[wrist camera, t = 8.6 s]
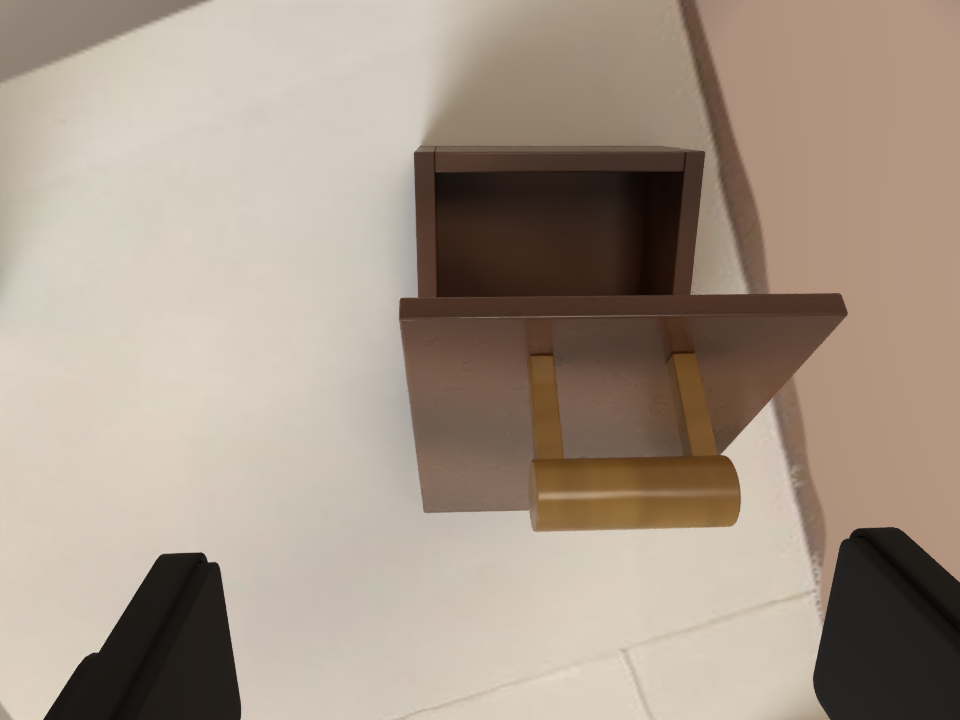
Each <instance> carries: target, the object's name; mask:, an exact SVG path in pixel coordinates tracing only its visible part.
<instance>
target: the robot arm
mask: <svg viewBox="0 0 960 720" xmlns="http://www.w3.org/2000/svg"><path fill="white" fill-rule="evenodd" d="M813 684H814V690H815V693H816V696H817V699H818V701H819V703H820V704H821V706H822V707H823V709H824V711H825V712H826V714H827V715H828V717H829V718H830V720H960V582H958V581H957V580H956V579H955V578H954V577H953V576H952V575H951V574H950V573H949V572H947V571H946V570H945V569H944V568H943V567H942V566H941V565H940V564H938V563H937V562H936V561H935V560H934V559H933V558H932V557H931V556H930V555H929V554H927V553H926V552H925V551H924V550H923V549H922V548H921V547H920V546H919V545H917V544H916V543H915V542H914V541H913V540H912V539H911V538H910V537H909V536H907V535H906V534H905V533H904V532H903V531H901V530H900V529H898V528H894V527H888V528H887V527H886V528H859V529H856V530H854V531H853V532H852V533H851V535H850V538H849V539H845V540H843V542H842V543H841V545H840V548H839V554H838V559H837V563H836V568H835V573H834V577H833V582H832V587H831V592H830V597H829V602H828V607H827V612H826V616H825V621H824V626H823V631H822V636H821V641H820V645H819V650H818V655H817V660H816V665H815V670H814V675H813ZM240 719H241V701H240V695H239V688H238V682H237V675H236V669H235V663H234V656H233V650H232V643H231V637H230V630H229V624H228V617H227V611H226V604H225V598H224V591H223V585H222V578H221V572H220V567H219V565H218V563H216V562H207V558H206V556H205V554H203V553H174V554H162V555H160V556H159V557H158V559H157V560H156V561H155V563H154V565H153V566H152V568H151V569H150V571H149V573H148V574H147V576H146V577H145V579H144V581H143V582H142V584H141V585H140V587H139V589H138V590H137V592H136V593H135V595H134V597H133V598H132V600H131V601H130V603H129V605H128V606H127V608H126V609H125V611H124V613H123V614H122V616H121V618H120V619H119V621H118V622H117V624H116V626H115V627H114V629H113V630H112V632H111V634H110V635H109V637H108V638H107V640H106V642H105V643H104V645H103V646H102V648H101V650H100V651H99V653H92V654H90V655H88V656H86V657H85V658H84V659H83V661H82V662H81V663H80V664H79V665H78V667H77V668H76V670H75V671H74V673H73V674H72V676H71V677H70V679H69V681H68V682H67V684H66V685H65V687H64V688H63V690H62V691H61V693H60V695H59V696H58V698H57V699H56V701H55V702H54V704H53V705H52V707H51V708H50V710H49V712H48V713H47V715H46V716H45V718H44V719H43V720H240Z"/></svg>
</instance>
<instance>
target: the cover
mask: <svg viewBox="0 0 960 720" xmlns="http://www.w3.org/2000/svg"><path fill="white" fill-rule="evenodd" d="M847 313H848V312H847V309H846V307H845V304H844V301H843V298H842V295H841V294H839V293H836V294H835V293H834V294H833V293H832V294H734V295H637V296H540V297H443V298H401V299H400V301H399V322H400V330H401V338H402V346H403V354H404V361H405V369H406V377H407V385H408V393H409V400H410V408H411V416H412V424H413V432H414V439H415V447H416V455H417V463H418V471H419V478H420V486H421V494H422V502H423V510H424V512H425V513H439V512H480V511H521V510H530V518H531V524H532V528H533V530H534V531H535V532H550V531H589V530H627V529H666V528H705V527H730V526H732V525H734V524H735V523H736V521H737V519H738V516H739V512H740V504H741V494H740V485H739V479H738V475H737V472H736V469H735V467H734V465H733V463H732V461H731V460H730V459H729V458H728V457H726V456H723V455H721V454H722V453H723V451H724V450H725V449H726V448H727V447H728V446H729V445H730V444H731V443H732V442H733V440H734V439H735V438H736V437H737V436H738V435H739V434H740V433H741V432H742V431H743V429H744V428H745V427H746V426H747V425H748V424H749V423H750V422H751V421H752V420H753V418H754V417H755V416H756V415H757V414H758V413H759V412H760V411H761V410H762V409H763V407H764V406H765V405H766V404H767V403H768V402H769V401H770V400H771V399H772V398H773V396H774V395H775V394H776V393H777V392H778V391H779V390H780V389H781V388H782V387H783V385H784V384H785V383H786V382H787V381H788V380H789V379H790V378H791V377H792V376H793V374H794V373H795V372H796V371H797V370H798V369H799V368H800V367H801V366H802V365H803V363H804V362H805V361H806V360H807V359H808V358H809V357H810V356H811V355H812V353H813V352H814V351H815V350H816V349H817V348H818V347H819V346H820V345H821V344H822V342H823V341H824V340H825V339H826V338H827V337H828V336H829V335H830V334H831V333H832V331H833V330H834V329H835V328H836V327H837V326H838V325H839V324H840V323H841V322H842V320H843V319H844V318H845V317H846V316H847Z"/></svg>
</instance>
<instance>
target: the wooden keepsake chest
mask: <svg viewBox="0 0 960 720" xmlns="http://www.w3.org/2000/svg"><path fill="white" fill-rule="evenodd" d="M704 158H705V152H704V151H697V150H689V149H681V148H672V147H664V146H420V147H419V148H418V149H417V150H416V151H415V152H414V168H415V203H416V238H417V273H418V298H443V297H540V296H637V295H690V292H691V283H692V273H693V264H694V254H695V244H696V235H697V225H698V216H699V206H700V196H701V187H702V177H703V167H704Z"/></svg>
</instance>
